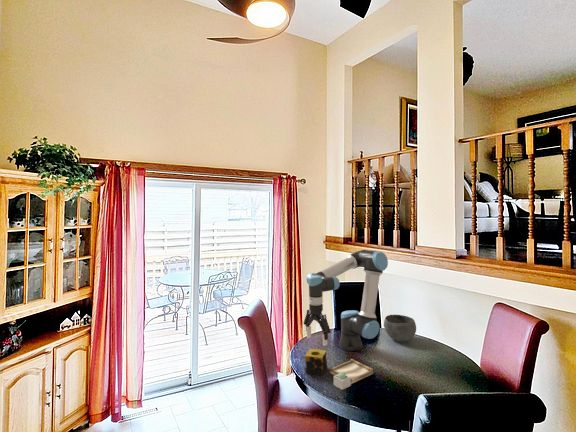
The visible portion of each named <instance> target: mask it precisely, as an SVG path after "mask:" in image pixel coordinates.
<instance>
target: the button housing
mask: <svg viewBox="0 0 576 432" xmlns="http://www.w3.org/2000/svg"><path fill="white" fill-rule="evenodd" d="M333 386H335V388H338V389H339V390H341V391H342V390H345V389H347V388H349V387H351V384H350V377H349V376H347V375H345V379H343V380H341V379H340V378H338V374H337V375H333Z"/></svg>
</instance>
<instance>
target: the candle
mask: <svg viewBox="0 0 576 432" xmlns="http://www.w3.org/2000/svg"><path fill="white" fill-rule="evenodd" d="M304 358H305V360H304V361H305V374H310V375H319V376H324V375H325V374H326V373H325V372H326V370H327V368H328V361H327V350H324V349H315V348H309V349H308V351H307V352H306V354H305V357H304Z"/></svg>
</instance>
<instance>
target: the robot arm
mask: <svg viewBox="0 0 576 432" xmlns="http://www.w3.org/2000/svg"><path fill="white" fill-rule="evenodd" d="M386 255H387V254H386V253H384V252H382V251H379V250H368V249H361V250H357V251H354V252H353V253H350V254H349V255H347V256H346V258H344V259H342V260H339V261H338V262H336V263H333V264H331V265H330V266H328V267H326V268H324V269H322V270H320V271H317V272H316V273H314V272H313V273H308V275H307V276H306V283H307V284H308V298H309V299H308V302H309V304H308V308H309V309H307V310H306V315H305V318H304V320H303V325H305V331H306V339H309V338H312V326H311V324H312V323H313V322H314V321H315V322H317V324H319V326H320V328H321V331H322V346H323V347H325V346H328V339H329V334H330V333H332V332H331V329H330V324H329V323H328V320H327V319H328V318H327V314H325V313H324V314H323V313H322V312H323V311H324V309H323V308H324V307H323V306H324V305H323V302H324V299H323V294H324V293H326V292H330V291H334V290H338V289H339V288H340V282H341V281H340V279H339V278H338V276H341V275H342V274H344V273H345V272H348V271H350V270H351V269H352V270H353V269H355V270H356V269H357V268H363V271H364V272H365V278H364V285H363V290H362V291H363V292H362V299H361V306H360V311H358V310H353V309H352V310H345V311H342V312H341V314H340V328H341V329H340V331H341V335H340V337H339V341H338V347H339V348H340V349H341V350H344V351H349V352H355V351H359V350H361V349H362V348H363V342H362V340H361V337H363V339H368V340H370V339H371V340H372V339H374V338H376V337H377V336H378V334H379V332H380V324H379V322H378V321H377V319H378V318H377V316H376V306H377V300H378V299H377V297H378V291H379V283H380V276H382V275H383V272H384V271H385V270H387V268H388V265H389V261H388V257H387V256H386Z"/></svg>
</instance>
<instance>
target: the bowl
mask: <svg viewBox="0 0 576 432" xmlns="http://www.w3.org/2000/svg"><path fill="white" fill-rule="evenodd" d="M383 327H384V330H385V332H386V334H387V335H388V337H390V338H391V339H393V340H394V341H395V342H398V343H406V342H407V343H408V342H409V341H411V340H412V339H413V338H414V337H415V336H416V333H417V324H416V322H415V319H414V318H413V317H410V316H407V315H402V314H388V315H386V316H385V318H384V320H383Z"/></svg>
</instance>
